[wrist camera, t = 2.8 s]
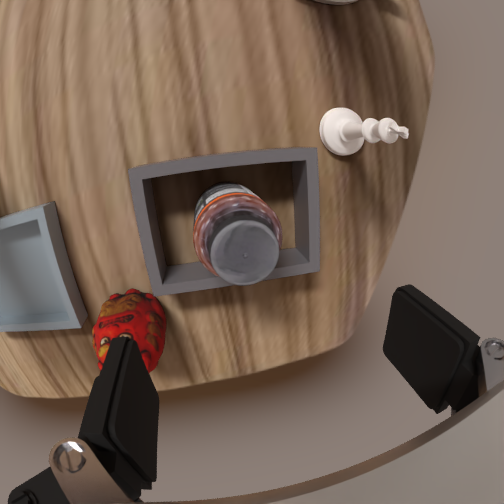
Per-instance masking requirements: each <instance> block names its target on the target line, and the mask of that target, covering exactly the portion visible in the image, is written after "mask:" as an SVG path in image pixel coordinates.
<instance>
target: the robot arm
mask: <svg viewBox="0 0 504 504" xmlns="http://www.w3.org/2000/svg"><path fill="white" fill-rule="evenodd" d="M314 1H317V2H321V3H326V4H334V5H344V4H350V3H354V2H356V1H358V0H314ZM479 339H480V337H479V336H478V335H477V334H475V333H474V332H473V331H472V330H471V329H469V328H468V327H467V326H465V325H464V324H463V323H462V322H460V321H459V320H458V319H456V318H455V317H454V316H453V315H451V314H450V313H449V312H447V311H446V310H445V309H443V308H442V307H441V306H440V305H438V304H437V303H436V302H434V301H433V300H432V299H430V298H429V297H428V296H426V295H425V294H424V293H422V292H421V291H419V290H418V289H416V288H415V287H414V286H412V285H405V286H402V287H398V288H397V289H396V291H395V292H394V294H393V296H392V302H391V308H390V314H389V320H388V325H387V330H386V335H385V340H384V344H383V352H384V354H385V356H386V357H387V358H388V359H389V361H390V362H391V363H392V364H393V365H394V366H395V368H396V369H397V370H398V371H399V372H400V374H401V375H402V376H403V377H404V378H405V380H406V381H407V382H408V383H409V384H410V386H411V387H412V388H413V389H414V390H415V392H416V393H417V394H418V395H419V396H420V398H421V399H422V400H423V401H424V403H425V404H426V405H427V406H428V407H429V408H430V409H433V410H434V411H435V412H436V414H438V413H440V412H442V411H443V410H445V409H446V408H447V407H448V405H450V406H451V407H452V408H451V417H449V418H448V419H446V420H445V421H443V422H441V423H440V424H438V425H436V426H435V427H433V428H431V429H430V430H428V431H426V432H424V433H422V434H421V435H419V436H417V437H415V438H413V439H411V440H409V441H407V442H406V443H404V444H402V445H400V446H398V447H396V448H393V449H391V450H389V451H387V452H385V453H383V454H380V455H378V456H376V457H374V458H371V459H369V460H366V461H364V462H362V463H359V464H356V465H354V466H351V467H349V468H346V469H343V470H340V471H337V472H335V473H332V474H329V475H325V476H322V477H319V478H316V479H313V480H309V481H305V482H302V483H298V484H294V485H290V486H287V487H283V488H278V489H273V490H268V491H263V492H259V493H252V494H247V495H240V496H233V497H226V498H217V499H207V500H196V501H178V502H146V503H145V502H143V501H142V500H141V499H140V498H139V497H140V496H141V489H149V490H151V489H152V482H155V481H156V478H157V435H158V416H159V397H158V393H157V391H156V389H155V387H154V384H153V382H152V380H151V377H150V375H149V373H148V370H147V368H146V365H145V363H144V360H143V358H142V355H141V353H140V350H139V347H138V345H137V342H136V341H135V340H131V339H130V337H128V336H127V337H116V338H112V340H111V343H110V346H109V348H108V351H107V354H106V357H105V360H104V363H103V366H102V369H101V372H100V375H99V376H98V377H96V379H95V381H94V384H93V387H92V390H91V393H90V396H89V400H88V403H87V407H86V410H85V414H84V417H83V421H82V424H81V428H80V432H79V436H78V438H73V437H72V438H65V439H62V440H60V441H59V442H57V443H56V444H55V445H54V446H53V448H52V449H51V451H50V454H49V464H50V467H49V468H47V469H46V470H44V471H42V472H41V473H39V474H38V475H36V476H34V477H33V478H31V479H29V480H28V481H26V482H25V483H23V484H21V485H20V486H18V487H16V488H15V489H14V490H12V492H11V493H10V495H9V498H8V504H504V341H503V340H500V339H497V338H488V339H485V340H484V341H483V342H482V344H481V346H480V347H479V346H478V345H477V344H478V341H479Z"/></svg>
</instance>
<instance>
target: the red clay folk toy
mask: <svg viewBox="0 0 504 504" xmlns="http://www.w3.org/2000/svg"><path fill="white" fill-rule="evenodd" d="M165 332H166V317H165V312H164V311H163V308H162V306H161V305H160V303H159V301H158V300H157V298H156V297H155V296H153V295H152V294H150V293H142V292H140V291H139V290H136V289H129V290H128V291H127V292H126V293H125V294H123V295H121V294H113V295H111V296H110V299H109V300H108V301H106V302H105V303H104V304H103V305H102V308H101V312H100V315H99V317H98V320H97V323H96V324H95V325H94V327H93V329H92V335H93V340H92V342H93V347H94V349H95V351H96V354H97V357H98V360H99V362H98V367H99V369H100V370H101V369H102V366H103V363H104V360H105V357H106V354H107V351H108V348H109V346H110V343H111V340H112V338H116V337H127V336H128V337H130V339H131V340H135V341H136V342H137V345H138V347H139V350H140V353H141V355H142V358H143V360H144V363H145V365H146V368H147V370H148V373H149V372H151V371H152V370H154V369H155V368H156V366H157V364H158V360H159V358H160V356H161V354H162V353H163V348H164V344H165Z"/></svg>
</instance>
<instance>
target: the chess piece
mask: <svg viewBox="0 0 504 504" xmlns="http://www.w3.org/2000/svg"><path fill="white" fill-rule="evenodd" d="M408 135H409V133H408V129H407V128H406V127H399V126H398V125H397V123H396V122H395V121H394V120H393V119H391V118H383V119H382V120H380V121H377V120H376V119H373V118H368V119H366V120H365V121H364V122H362V120H361V118H360V117H359V116H358V115H357V114H356V113H355V112H354V111H352V110H350V109H347V108H334V109H331V110H329V111H328V112H327V113H326V114H325V115H324V116H323V118H322V120H321V122H320V137H321V140H322V142H323V144H324V145H325V147H326V148H327V149H328V150H329V151H331V152H332V153H334V154H337V155H342V156H344V155H350V154H353V153H355V152H357V151H358V150H359V149H360V148H361V146H362V145H363V142H364V139H365V140H366V141H368V142H370V143H376V142H378V141H380V140H382V141H384V142H386V143H394V142H395V141H396V140H397V139H398V136H401V137H402V138H404V139H407V138H408Z"/></svg>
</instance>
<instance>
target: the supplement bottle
mask: <svg viewBox="0 0 504 504" xmlns="http://www.w3.org/2000/svg"><path fill="white" fill-rule="evenodd" d="M193 242H194V247H195V251H196V254H197V256H198V258H199V260H200V261H201V263H202V264H203V266H204V267H205V268H206V269H207V270H208V271H210V272H211V273H213V274H214V275H216V276H218V277H220V278H222V279H223V280H225V281H226V282H228V283H231V284H234V285H241V286H246V285H252V284H255V283H258V282H260V281H262V280H263V279H265V278H266V277H267V276H269V275H270V273H271V272H272V271H273V270H274V268H275V266H276V264H277V262H278V258H279V252H280V248H281V245H282V228H281V224H280V221H279V219H278V217H277V215H276V214H275V212H274V211H273V210H272V209H271V208H270V206H268V205H267V204H266V203H265V202H264V201H263V200H262V199H261V198H259V197H258V196H257V195H255V194H254V193H253V192H252V191H250V190H249V189H248V188H246V187H244V186H242V185H240V184H237V183H234V182H222V183H218V184H215V185H213V186H211V187H209V188H208V189H206V190H205V192H204V193H203V194H202V195H201V196H200V198H199V200H198V202H197V204H196V208H195V213H194V229H193Z"/></svg>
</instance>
